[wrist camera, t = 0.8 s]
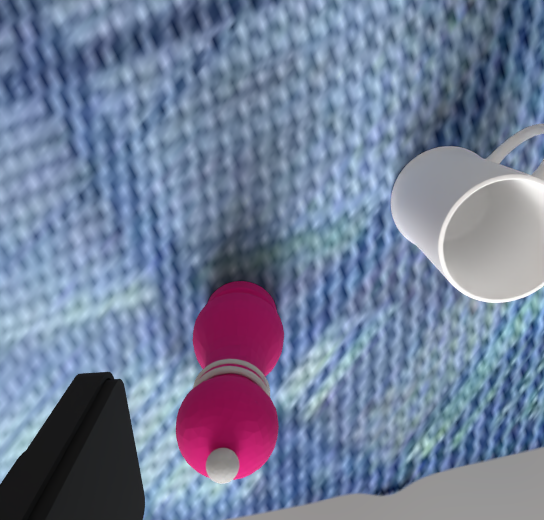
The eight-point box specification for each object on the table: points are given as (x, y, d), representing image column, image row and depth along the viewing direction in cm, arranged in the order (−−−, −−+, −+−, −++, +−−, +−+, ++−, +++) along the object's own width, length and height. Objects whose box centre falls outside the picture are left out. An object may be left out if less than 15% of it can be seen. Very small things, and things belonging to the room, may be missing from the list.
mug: (472, 88, 40) (554, 90, 28) (547, 159, 41) (653, 188, 30) (368, 206, 42) (404, 251, 31) (442, 268, 44) (502, 332, 33)
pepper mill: (190, 285, 45) (131, 434, 26) (271, 266, 44) (272, 404, 25) (213, 357, 47) (174, 543, 28) (290, 340, 46) (305, 517, 27)
